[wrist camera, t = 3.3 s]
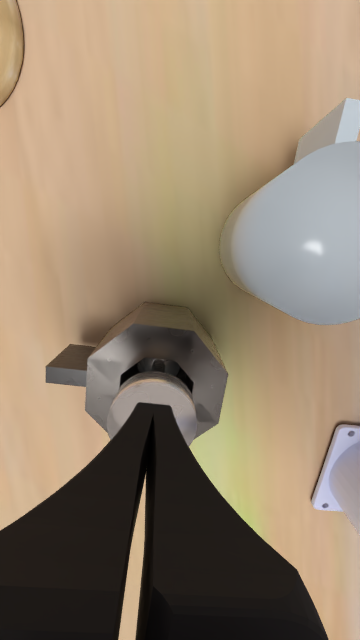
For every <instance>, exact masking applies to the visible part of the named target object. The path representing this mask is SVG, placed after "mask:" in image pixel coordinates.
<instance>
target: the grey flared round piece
mask: <svg viewBox="0 0 360 640" xmlns="http://www.w3.org/2000/svg"><path fill="white" fill-rule="evenodd" d="M179 369H180V366H179V364H178V363H177V362H176V361H173V360H164V359H155V358H146V357H144V358H143V359H142V360H140V361H139V362H138V370H139V372H140V374H137V375H135V376H133V377H131V378H129V379H128V380H127V381H126V382H124V383H123V384H122V385H121V387H120V388H119V390H118V391H117V393H116V395H115V398H114V400H113V403H112V406H111V408H110V411H109V414H108V417H107V431H108V434H109V437H110V439H112V438H113V437H114V436H115V435H116V434H117V432H118V431H119V430H120V428H121V427H122V426H123V424H124V423H125V422H126V420H127V419H128V417H129V416H130V414H131V413H132V411H133V410H134V408H135V406H136V404H137V403H139V402H143V403H153V404H163V405H170V406H171V408H172V410H173V414H174V417H175V419H176V422H177V424H178V426H179V429H180V431H181V433H182V435H183V437H184V439H185V441H186V443H187V445H188V447H189V446H190V444H191V443H192V441H193V439H194V437H195V434H196V430H197V418H196V412H195V405H194V400H193V396H192V394H191V392H190V390H189V389H188V387H187V386H186V385H185V384H184V383H183V382H182V381H181V380H180V379H178V378H176V375H177V374H178V372H179Z"/></svg>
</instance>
